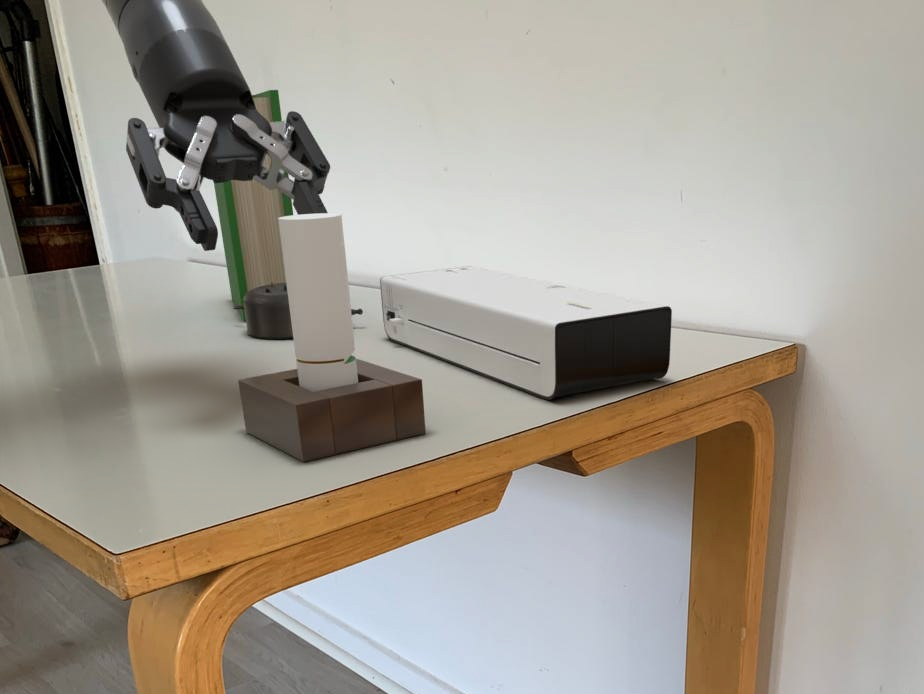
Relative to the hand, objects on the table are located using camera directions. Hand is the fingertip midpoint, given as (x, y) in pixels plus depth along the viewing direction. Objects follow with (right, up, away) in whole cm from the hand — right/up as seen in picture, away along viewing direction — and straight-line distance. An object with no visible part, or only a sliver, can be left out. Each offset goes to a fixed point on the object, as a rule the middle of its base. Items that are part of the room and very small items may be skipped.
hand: (267, 236), depth 73 cm
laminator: (+18, -3, +21) cm, 28 cm away
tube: (+5, -15, +1) cm, 15 cm away
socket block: (+5, -14, +1) cm, 15 cm away
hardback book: (-12, +12, +53) cm, 56 cm away
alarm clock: (0, +6, +34) cm, 34 cm away
